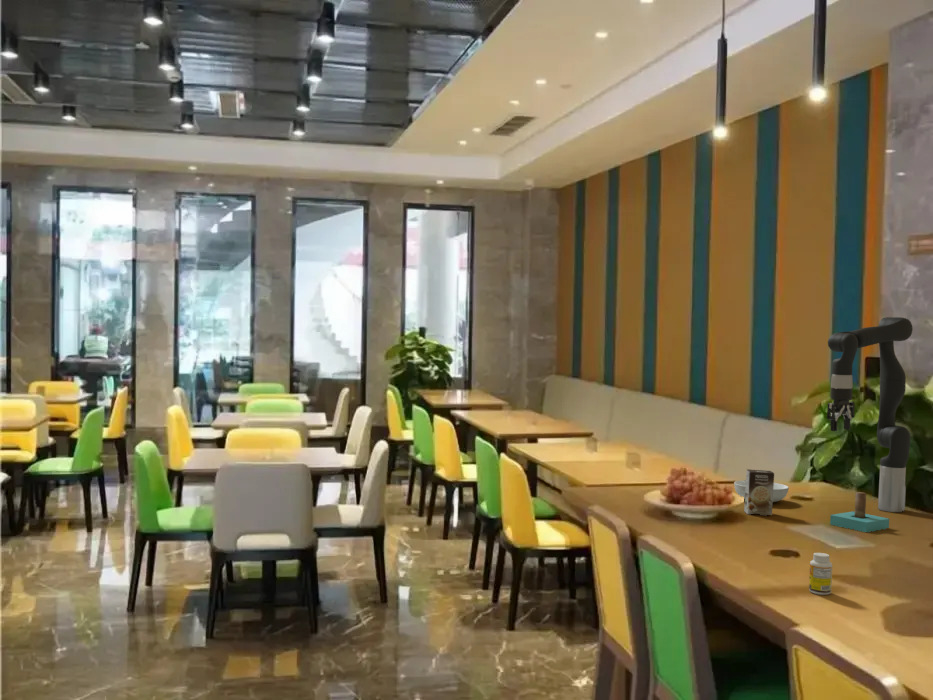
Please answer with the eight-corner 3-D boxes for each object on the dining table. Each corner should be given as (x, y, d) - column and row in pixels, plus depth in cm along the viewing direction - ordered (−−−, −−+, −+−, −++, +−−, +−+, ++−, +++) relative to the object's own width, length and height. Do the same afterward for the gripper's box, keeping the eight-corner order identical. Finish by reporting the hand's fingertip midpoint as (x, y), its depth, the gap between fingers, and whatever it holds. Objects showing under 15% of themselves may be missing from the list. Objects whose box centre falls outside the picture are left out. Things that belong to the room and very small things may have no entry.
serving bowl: (795, 507, 369) (795, 489, 369) (741, 505, 369) (742, 487, 369) (778, 497, 390) (779, 480, 389) (727, 495, 390) (728, 478, 390)
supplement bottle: (813, 588, 254) (814, 550, 254) (834, 592, 251) (835, 554, 250) (805, 592, 250) (807, 554, 250) (826, 596, 246) (828, 558, 246)
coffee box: (747, 514, 351) (749, 471, 351) (743, 511, 357) (745, 469, 357) (772, 516, 350) (774, 472, 350) (768, 512, 357) (770, 470, 356)
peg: (857, 525, 339) (859, 491, 338) (866, 527, 336) (868, 493, 335) (852, 526, 337) (853, 492, 336) (861, 528, 334) (862, 494, 333)
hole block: (853, 520, 346) (853, 511, 346) (888, 528, 334) (889, 518, 334) (830, 524, 338) (830, 514, 338) (866, 532, 326) (866, 522, 326)
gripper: (843, 385, 358) (841, 428, 359) (821, 386, 350) (820, 430, 350) (861, 386, 352) (860, 430, 353) (839, 388, 344) (838, 432, 344)
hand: (840, 430), depth 352 cm, fingers open, 8 cm apart
